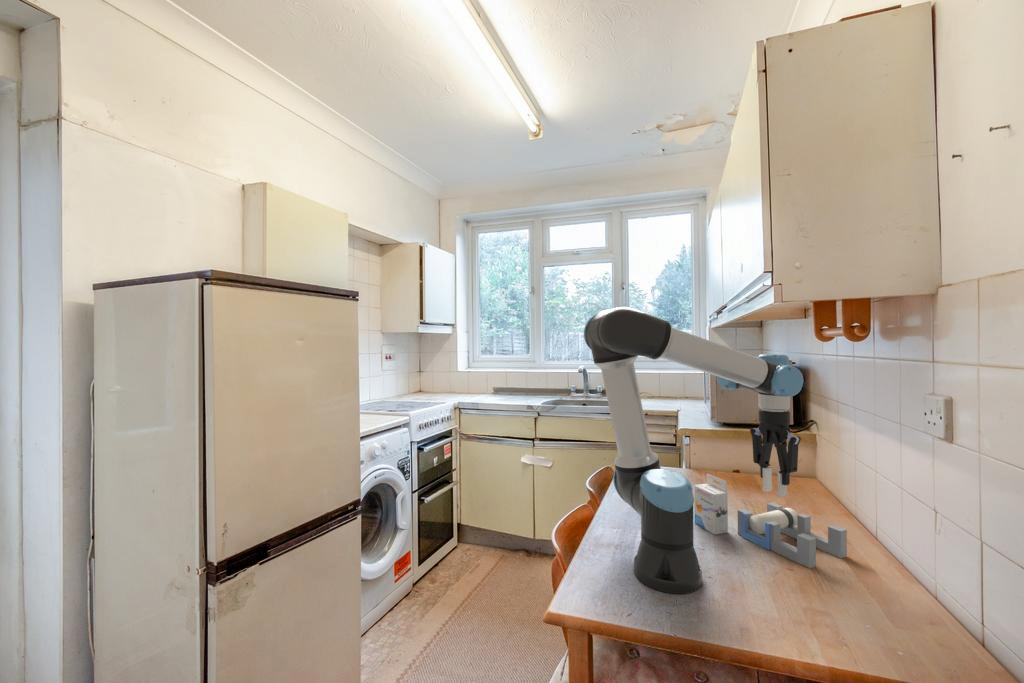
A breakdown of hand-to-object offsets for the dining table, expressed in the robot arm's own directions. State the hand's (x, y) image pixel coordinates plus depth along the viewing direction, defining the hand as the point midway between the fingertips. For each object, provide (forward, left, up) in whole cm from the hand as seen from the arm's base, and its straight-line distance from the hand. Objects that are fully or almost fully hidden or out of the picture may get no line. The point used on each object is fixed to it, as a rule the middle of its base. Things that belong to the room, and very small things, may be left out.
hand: (774, 493), depth 118 cm
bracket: (0, -4, -13) cm, 13 cm away
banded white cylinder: (0, 0, -10) cm, 10 cm away
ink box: (-11, +12, -13) cm, 21 cm away
